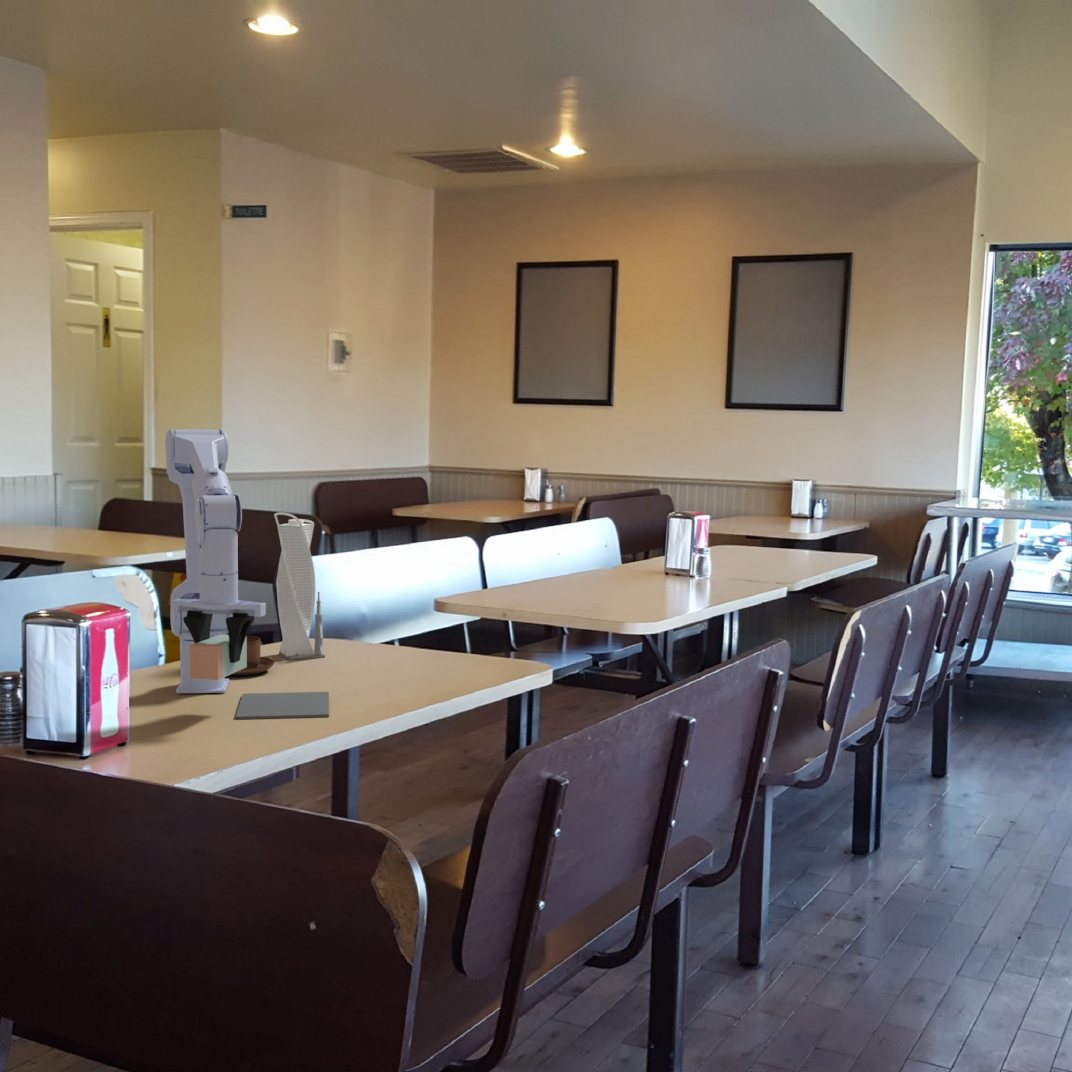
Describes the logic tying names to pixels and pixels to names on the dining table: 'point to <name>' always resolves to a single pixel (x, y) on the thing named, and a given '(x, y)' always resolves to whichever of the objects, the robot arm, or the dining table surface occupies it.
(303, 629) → the skyscraper
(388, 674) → the dining table surface
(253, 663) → the cup and saucer
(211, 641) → the green and orange block
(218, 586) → the robot arm
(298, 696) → the rubber mat
